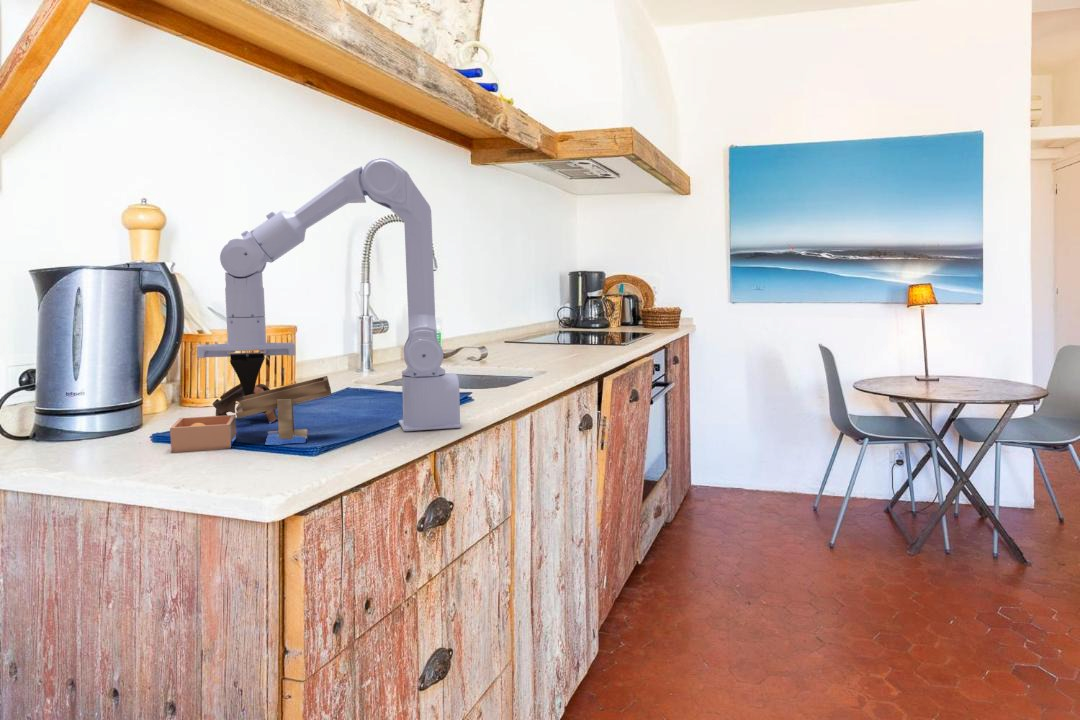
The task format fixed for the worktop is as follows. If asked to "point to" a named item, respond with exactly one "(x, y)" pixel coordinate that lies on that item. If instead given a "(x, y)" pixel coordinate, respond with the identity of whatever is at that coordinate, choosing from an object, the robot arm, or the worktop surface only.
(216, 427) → the open cardboard tray
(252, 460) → the worktop surface
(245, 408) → the catapult lever
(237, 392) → the dark brown bent piece
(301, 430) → the fulcrum stand
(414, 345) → the robot arm
